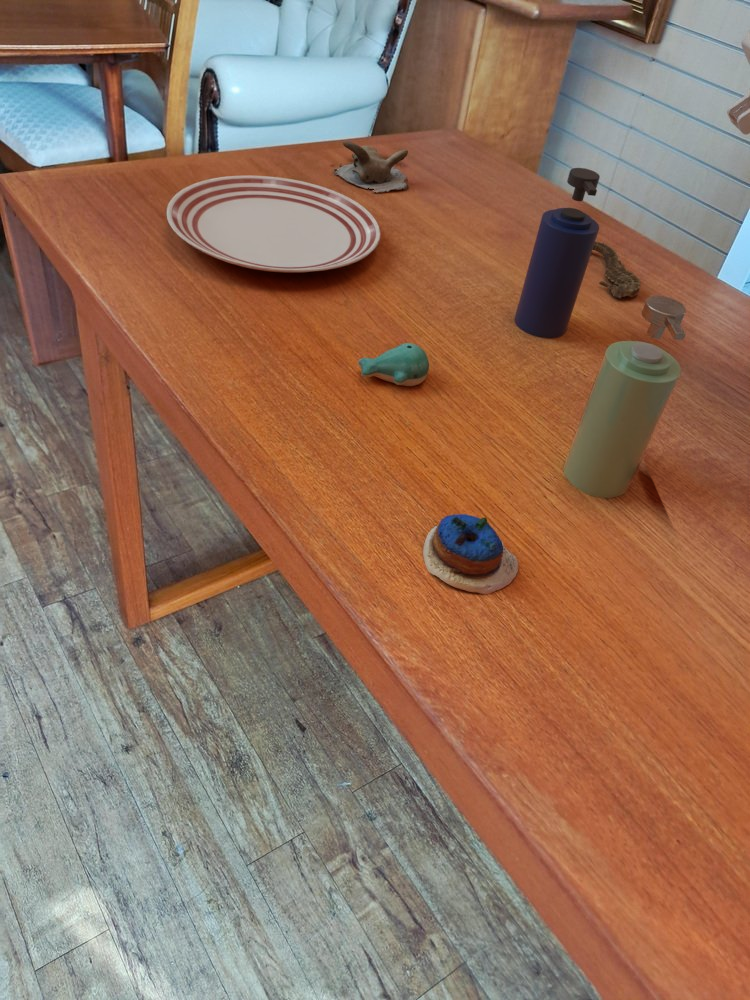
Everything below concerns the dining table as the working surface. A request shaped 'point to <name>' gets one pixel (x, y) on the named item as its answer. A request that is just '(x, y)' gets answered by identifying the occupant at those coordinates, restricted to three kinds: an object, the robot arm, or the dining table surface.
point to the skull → (373, 169)
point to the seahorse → (617, 273)
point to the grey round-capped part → (664, 317)
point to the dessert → (469, 555)
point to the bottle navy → (555, 272)
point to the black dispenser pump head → (583, 182)
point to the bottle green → (620, 417)
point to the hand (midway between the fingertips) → (734, 123)
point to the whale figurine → (398, 365)
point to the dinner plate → (273, 223)
